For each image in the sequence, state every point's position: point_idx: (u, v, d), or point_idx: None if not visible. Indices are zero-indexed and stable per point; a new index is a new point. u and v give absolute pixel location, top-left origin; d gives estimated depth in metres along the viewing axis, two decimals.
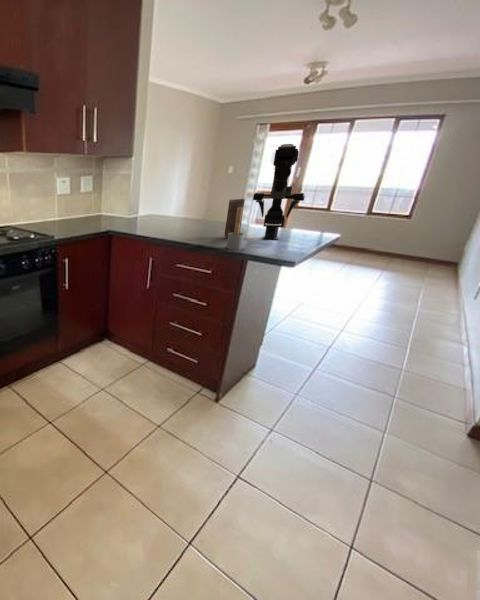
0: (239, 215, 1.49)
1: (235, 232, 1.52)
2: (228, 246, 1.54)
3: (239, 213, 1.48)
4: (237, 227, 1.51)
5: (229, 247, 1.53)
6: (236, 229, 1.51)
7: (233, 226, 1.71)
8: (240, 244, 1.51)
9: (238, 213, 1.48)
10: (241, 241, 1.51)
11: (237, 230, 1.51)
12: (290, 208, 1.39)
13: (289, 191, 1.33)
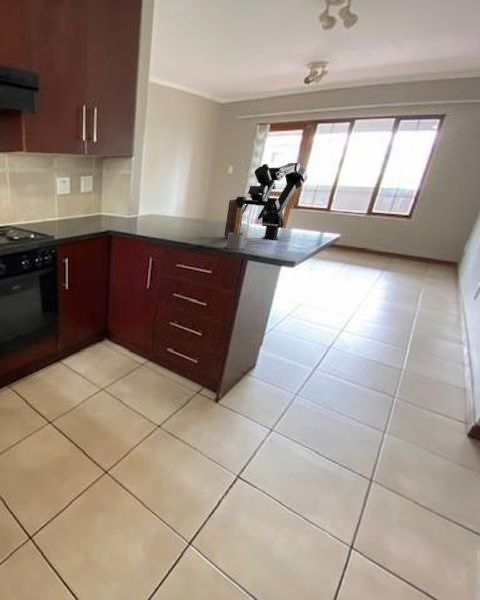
0: (239, 215, 1.49)
1: (235, 232, 1.52)
2: (228, 246, 1.54)
3: (239, 213, 1.48)
4: (237, 227, 1.51)
5: (229, 247, 1.53)
6: (236, 229, 1.51)
7: (233, 226, 1.71)
8: (240, 244, 1.51)
9: (238, 213, 1.48)
10: (241, 241, 1.51)
11: (237, 230, 1.51)
12: (263, 210, 1.50)
13: (263, 187, 1.48)
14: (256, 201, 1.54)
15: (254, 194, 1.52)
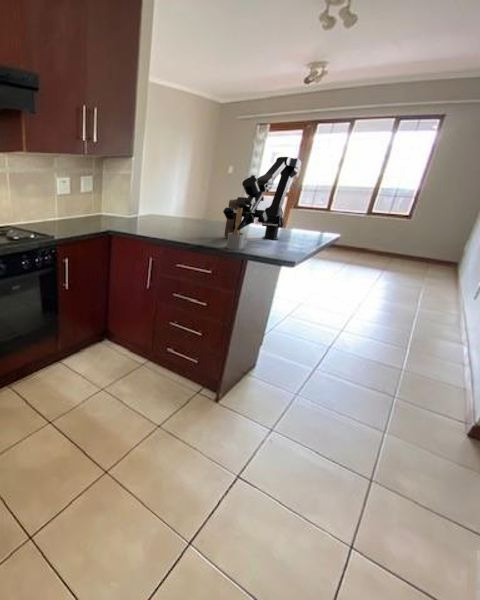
0: (239, 215, 1.49)
1: (235, 232, 1.52)
2: (228, 246, 1.54)
3: (239, 213, 1.48)
4: (237, 227, 1.51)
5: (229, 247, 1.53)
6: (236, 229, 1.51)
7: None
8: (240, 244, 1.51)
9: (238, 213, 1.48)
10: (241, 241, 1.51)
11: (237, 230, 1.51)
12: (242, 221, 1.49)
13: (250, 199, 1.45)
14: None
15: (241, 205, 1.49)
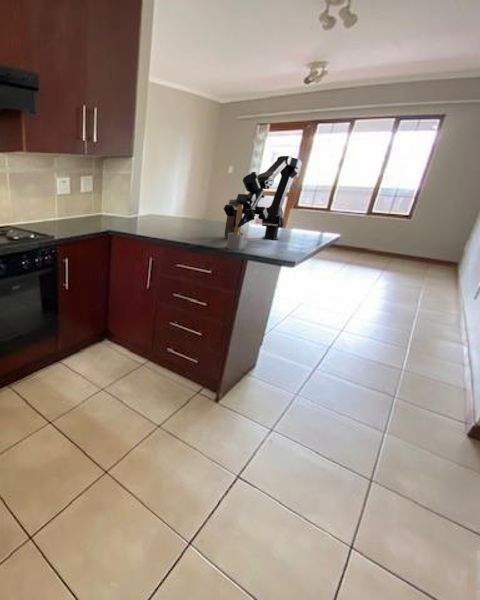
0: (240, 212, 1.48)
1: (236, 229, 1.51)
2: (228, 246, 1.54)
3: (239, 209, 1.48)
4: None
5: (229, 247, 1.53)
6: (237, 226, 1.51)
7: None
8: (240, 244, 1.51)
9: (239, 210, 1.48)
10: (241, 241, 1.51)
11: (238, 227, 1.51)
12: (243, 218, 1.49)
13: (251, 196, 1.44)
14: None
15: (242, 202, 1.49)
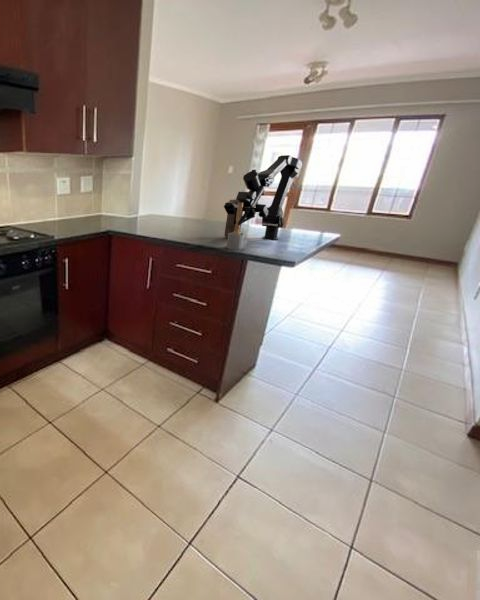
0: (240, 210, 1.48)
1: (236, 227, 1.51)
2: (228, 246, 1.54)
3: (239, 207, 1.47)
4: (238, 222, 1.50)
5: (229, 247, 1.53)
6: (237, 224, 1.50)
7: (233, 226, 1.71)
8: (240, 244, 1.51)
9: (239, 208, 1.48)
10: (241, 241, 1.51)
11: (238, 225, 1.50)
12: (243, 215, 1.48)
13: (251, 193, 1.44)
14: (237, 207, 1.53)
15: (242, 200, 1.48)
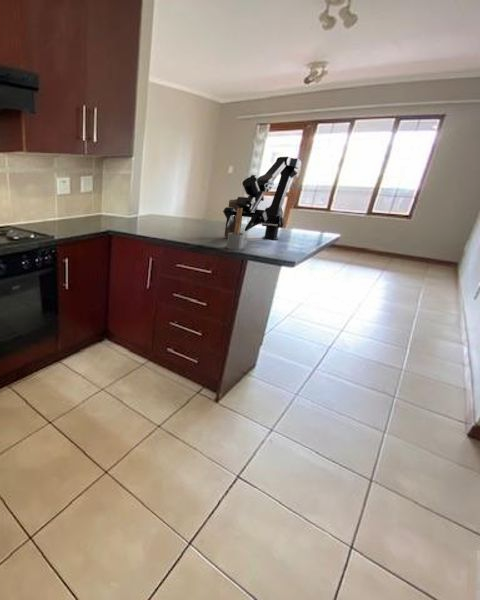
0: (239, 215, 1.49)
1: (235, 232, 1.52)
2: (228, 246, 1.54)
3: (239, 213, 1.48)
4: (237, 227, 1.51)
5: (229, 247, 1.53)
6: (236, 229, 1.51)
7: (233, 226, 1.71)
8: (240, 244, 1.51)
9: (238, 213, 1.48)
10: (241, 241, 1.51)
11: (237, 230, 1.51)
12: (250, 221, 1.47)
13: (250, 199, 1.45)
14: (244, 212, 1.51)
15: (241, 205, 1.49)
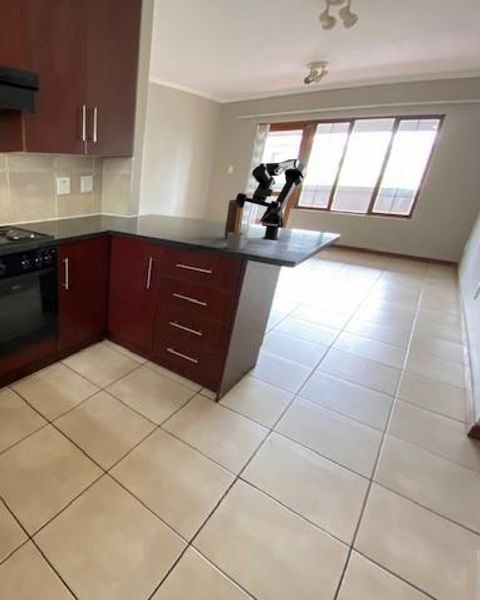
0: (239, 215, 1.49)
1: (235, 232, 1.52)
2: (228, 246, 1.54)
3: (239, 213, 1.48)
4: (237, 227, 1.51)
5: (229, 247, 1.53)
6: (236, 229, 1.51)
7: (233, 226, 1.71)
8: (240, 244, 1.51)
9: (238, 213, 1.48)
10: (241, 241, 1.51)
11: (237, 230, 1.51)
12: (265, 213, 1.52)
13: (270, 192, 1.47)
14: (257, 201, 1.54)
15: (258, 195, 1.51)
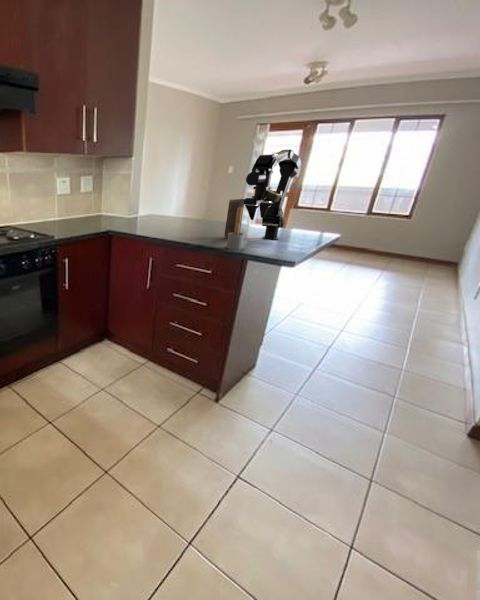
0: (239, 215, 1.49)
1: (235, 232, 1.52)
2: (228, 246, 1.54)
3: (239, 213, 1.48)
4: (237, 227, 1.51)
5: (229, 247, 1.53)
6: (236, 229, 1.51)
7: (233, 226, 1.71)
8: (240, 244, 1.51)
9: (238, 213, 1.48)
10: (241, 241, 1.51)
11: (237, 230, 1.51)
12: (267, 209, 1.59)
13: (281, 194, 1.51)
14: (262, 200, 1.55)
15: None
